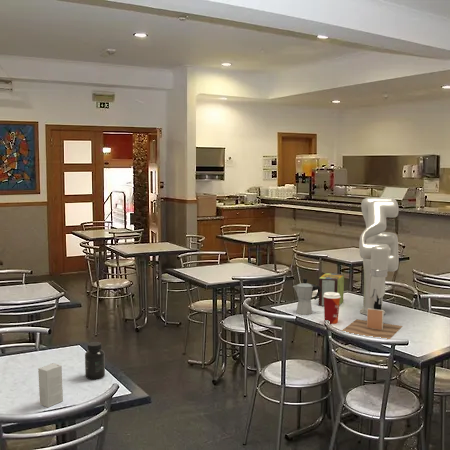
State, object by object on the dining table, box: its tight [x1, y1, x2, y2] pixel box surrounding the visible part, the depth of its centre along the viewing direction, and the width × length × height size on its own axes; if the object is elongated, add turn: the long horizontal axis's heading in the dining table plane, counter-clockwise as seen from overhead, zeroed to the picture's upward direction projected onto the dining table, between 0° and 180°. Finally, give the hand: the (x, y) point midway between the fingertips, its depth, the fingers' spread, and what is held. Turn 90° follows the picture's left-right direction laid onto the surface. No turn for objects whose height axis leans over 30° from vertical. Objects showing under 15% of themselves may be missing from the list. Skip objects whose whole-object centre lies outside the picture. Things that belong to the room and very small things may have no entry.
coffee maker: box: [292, 277, 322, 316], centre depth 289 cm, size 15×9×18 cm, turn 83°
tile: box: [366, 308, 385, 330], centre depth 258 cm, size 2×7×9 cm, turn 59°
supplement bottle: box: [84, 341, 106, 381], centre depth 201 cm, size 7×7×12 cm
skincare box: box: [37, 362, 64, 408], centre depth 179 cm, size 6×4×12 cm
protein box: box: [318, 272, 345, 307], centre depth 308 cm, size 10×15×16 cm
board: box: [341, 318, 403, 340], centre depth 258 cm, size 24×22×1 cm
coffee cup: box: [323, 292, 340, 325], centre depth 269 cm, size 8×8×15 cm
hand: (377, 312), depth 260 cm, fingers closed
